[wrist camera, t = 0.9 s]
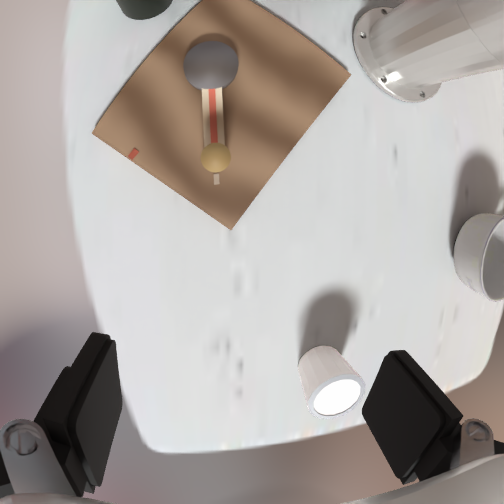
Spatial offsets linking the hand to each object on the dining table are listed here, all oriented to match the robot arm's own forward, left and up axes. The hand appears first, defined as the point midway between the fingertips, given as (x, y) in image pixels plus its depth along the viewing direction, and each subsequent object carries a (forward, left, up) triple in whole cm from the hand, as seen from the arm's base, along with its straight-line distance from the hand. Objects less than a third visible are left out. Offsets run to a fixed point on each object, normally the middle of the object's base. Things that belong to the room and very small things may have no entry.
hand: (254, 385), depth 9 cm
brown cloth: (-11, -9, -22) cm, 26 cm away
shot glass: (+7, +19, -23) cm, 30 cm away
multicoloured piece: (-10, -9, -21) cm, 25 cm away
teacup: (-19, +29, -23) cm, 42 cm away
